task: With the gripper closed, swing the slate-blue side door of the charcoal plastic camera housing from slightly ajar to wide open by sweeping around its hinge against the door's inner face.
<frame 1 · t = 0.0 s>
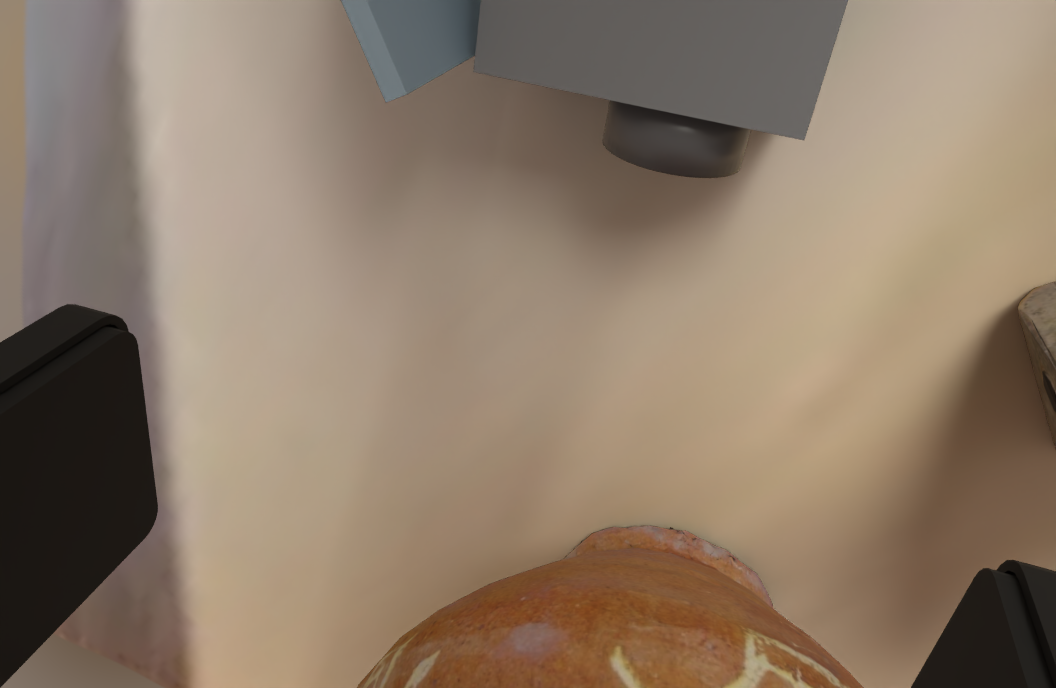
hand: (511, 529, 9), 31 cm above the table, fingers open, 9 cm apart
jug: (663, 599, 51), on the table
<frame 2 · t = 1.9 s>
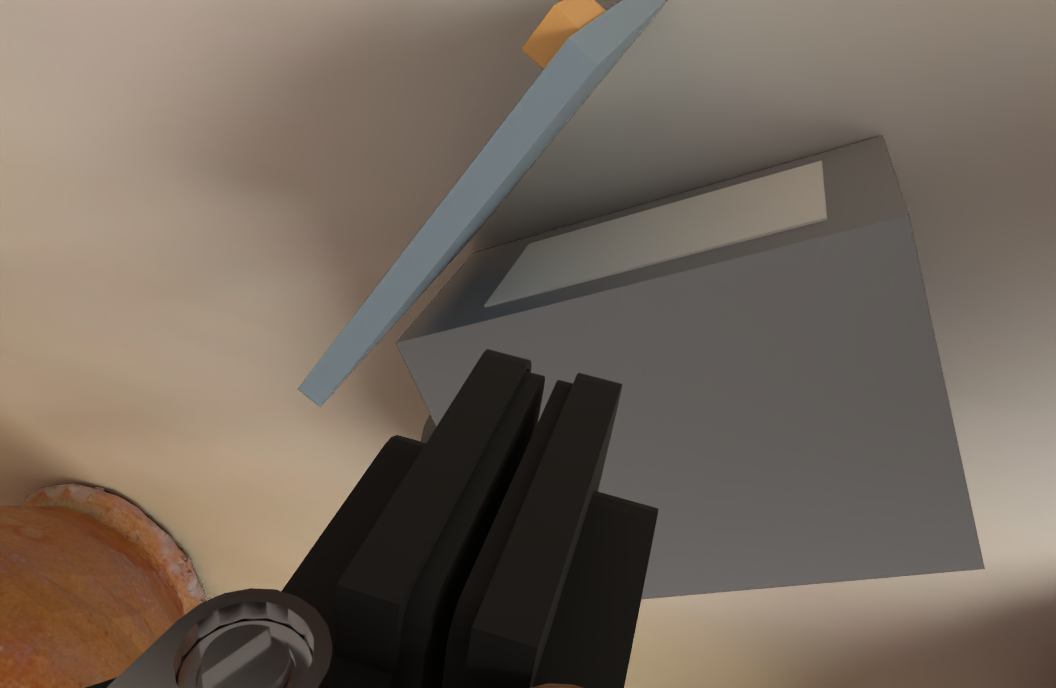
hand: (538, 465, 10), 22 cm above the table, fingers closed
jug: (123, 563, 52), on the table
camera housing: (702, 337, 34), on the table
side door: (490, 166, 25), point 7 cm above the table, hinge at 30.0°
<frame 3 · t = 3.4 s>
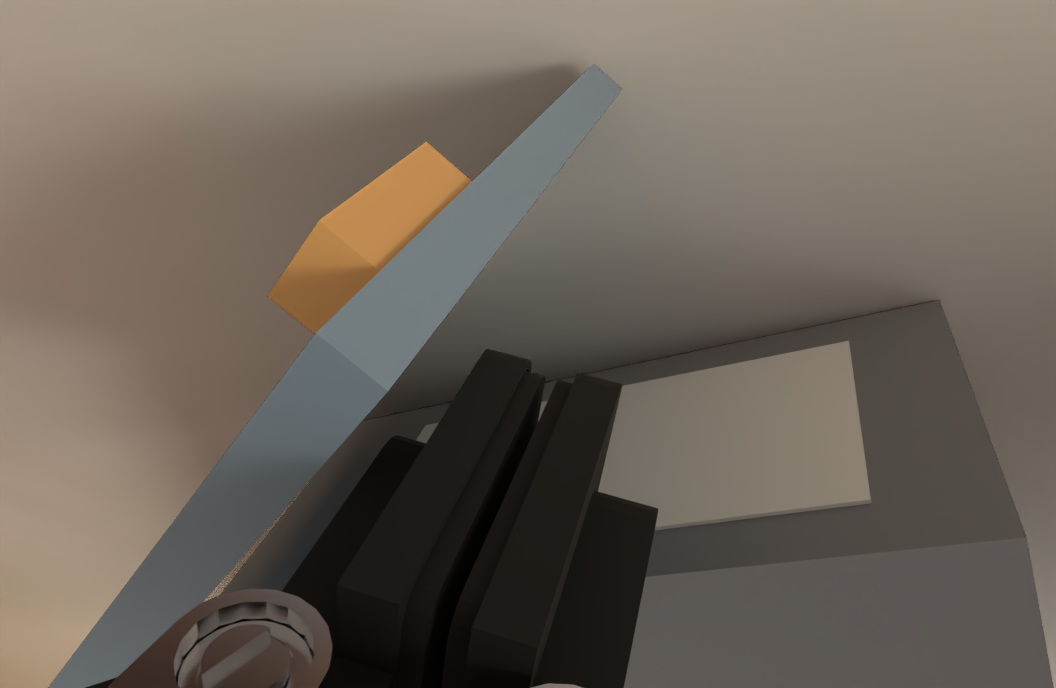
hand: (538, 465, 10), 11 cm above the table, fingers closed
camera housing: (673, 546, 24), on the table
side door: (320, 382, 16), point 7 cm above the table, hinge at 30.0°, touching gripper
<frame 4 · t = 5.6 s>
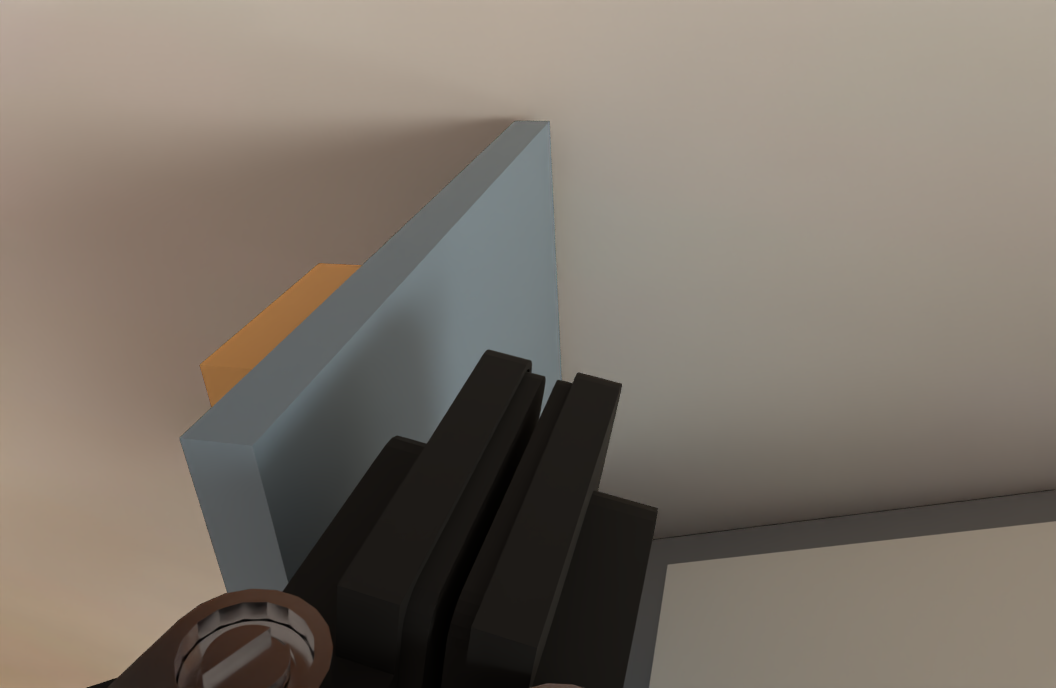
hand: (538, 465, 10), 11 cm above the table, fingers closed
camera housing: (900, 676, 24), on the table
side door: (452, 517, 16), point 7 cm above the table, hinge at 72.1°, touching gripper
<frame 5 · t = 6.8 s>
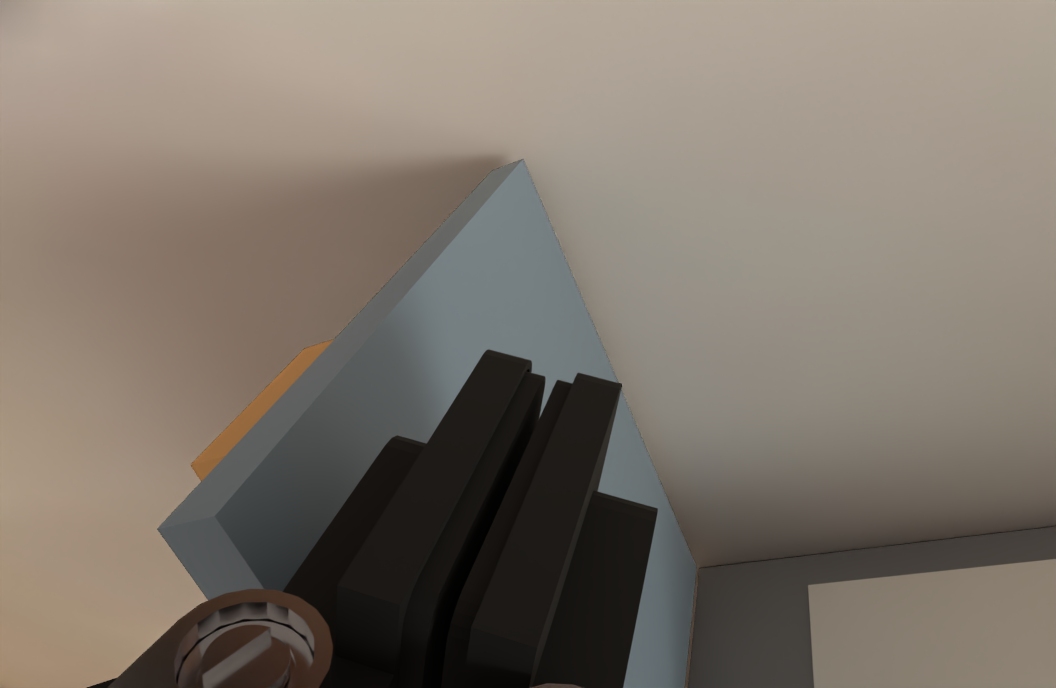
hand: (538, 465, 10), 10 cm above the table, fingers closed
side door: (532, 559, 16), point 7 cm above the table, hinge at 92.0°, touching gripper
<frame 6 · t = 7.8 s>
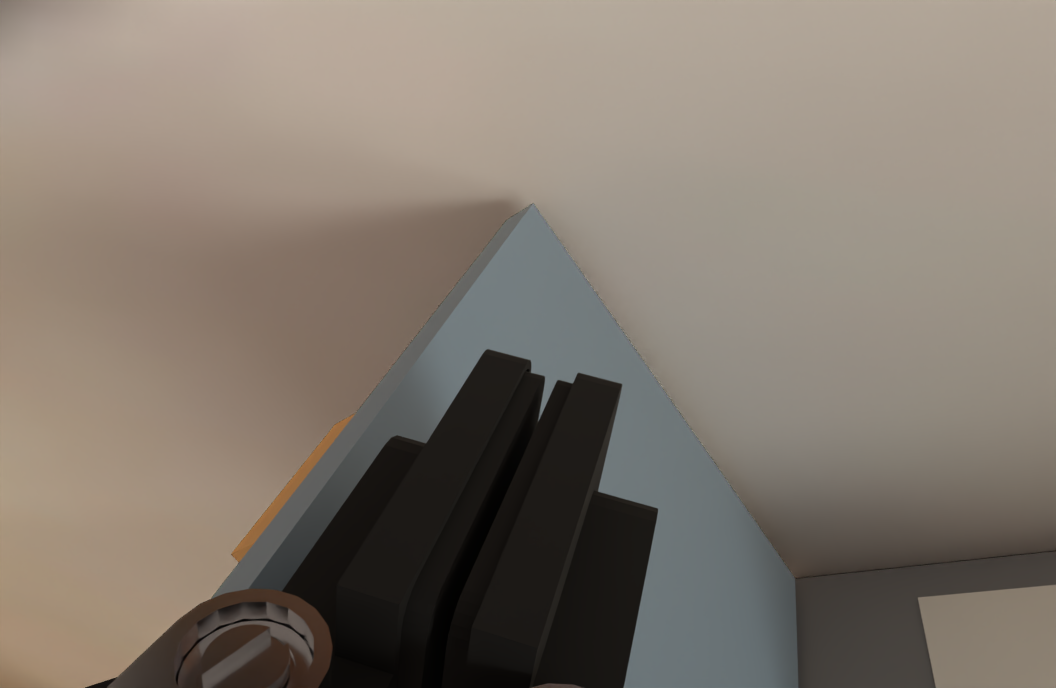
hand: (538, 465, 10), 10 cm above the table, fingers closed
side door: (605, 596, 16), point 7 cm above the table, hinge at 104.3°, touching gripper
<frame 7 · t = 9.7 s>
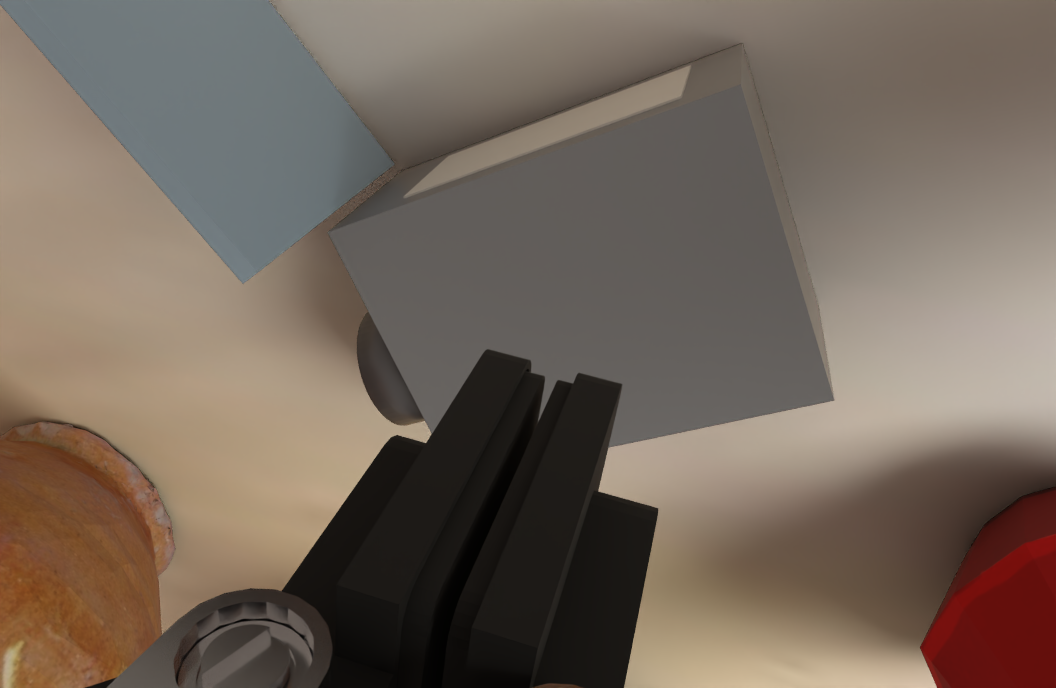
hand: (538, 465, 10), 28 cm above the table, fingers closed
jug: (93, 500, 55), on the table
camera housing: (605, 237, 38), on the table
side door: (217, 89, 32), point 7 cm above the table, hinge at 104.4°
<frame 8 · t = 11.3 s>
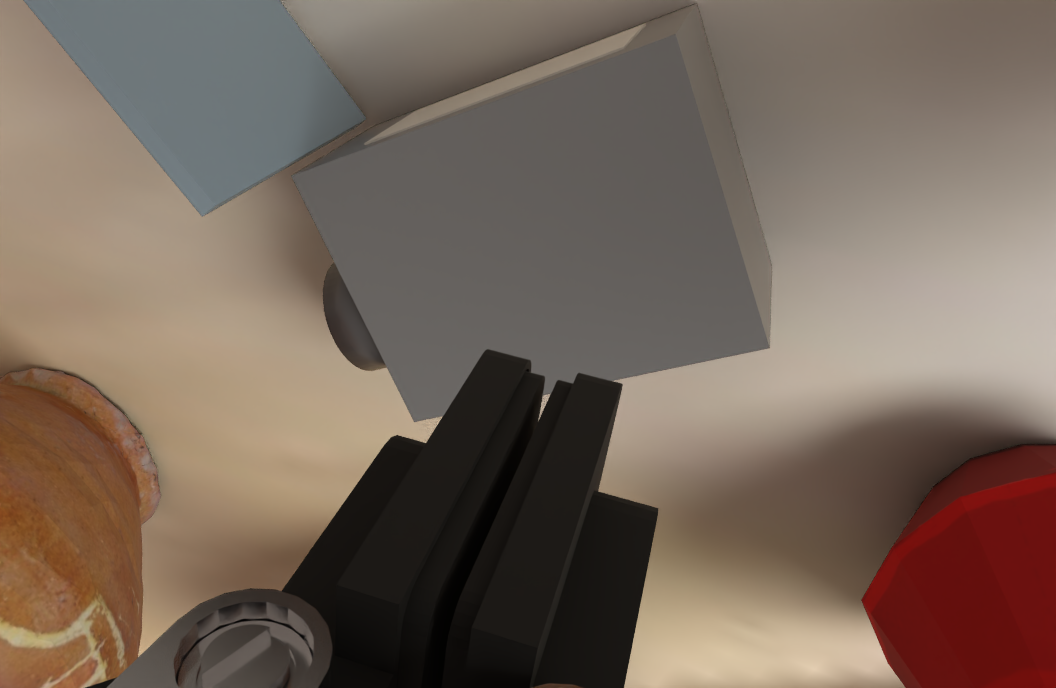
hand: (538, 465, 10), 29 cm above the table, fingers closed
jug: (83, 447, 57), on the table
bottle: (1017, 511, 41), on the table
camera housing: (568, 194, 39), on the table
side door: (190, 36, 33), point 7 cm above the table, hinge at 104.4°
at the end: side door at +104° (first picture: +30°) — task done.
